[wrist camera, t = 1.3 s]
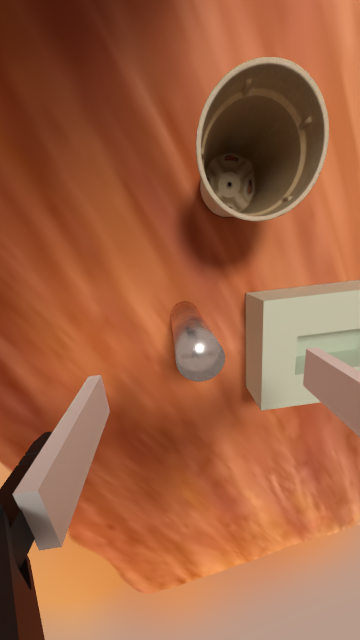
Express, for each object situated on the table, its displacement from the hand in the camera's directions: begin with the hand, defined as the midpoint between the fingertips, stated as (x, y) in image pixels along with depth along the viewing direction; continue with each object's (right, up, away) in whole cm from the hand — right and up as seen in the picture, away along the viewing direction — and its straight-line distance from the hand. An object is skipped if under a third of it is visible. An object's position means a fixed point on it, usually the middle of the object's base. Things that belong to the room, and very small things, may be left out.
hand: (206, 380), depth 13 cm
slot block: (+17, +2, +16) cm, 23 cm away
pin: (-1, +4, +13) cm, 14 cm away
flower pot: (+3, +18, +10) cm, 21 cm away
